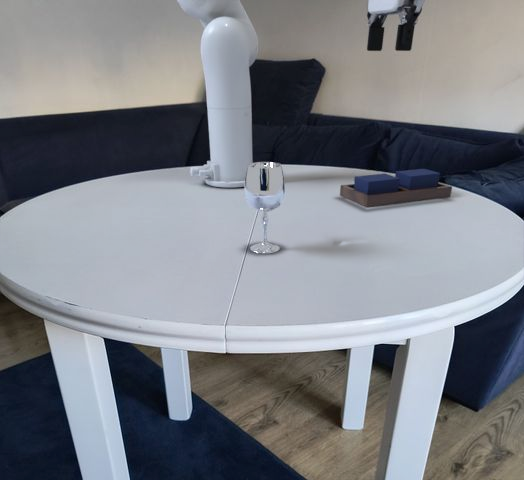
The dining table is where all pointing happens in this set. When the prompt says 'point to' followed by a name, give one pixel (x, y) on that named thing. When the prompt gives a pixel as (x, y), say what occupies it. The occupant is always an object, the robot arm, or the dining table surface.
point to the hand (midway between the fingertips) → (388, 50)
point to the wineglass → (264, 195)
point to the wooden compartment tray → (394, 195)
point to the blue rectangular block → (418, 179)
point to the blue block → (376, 184)
